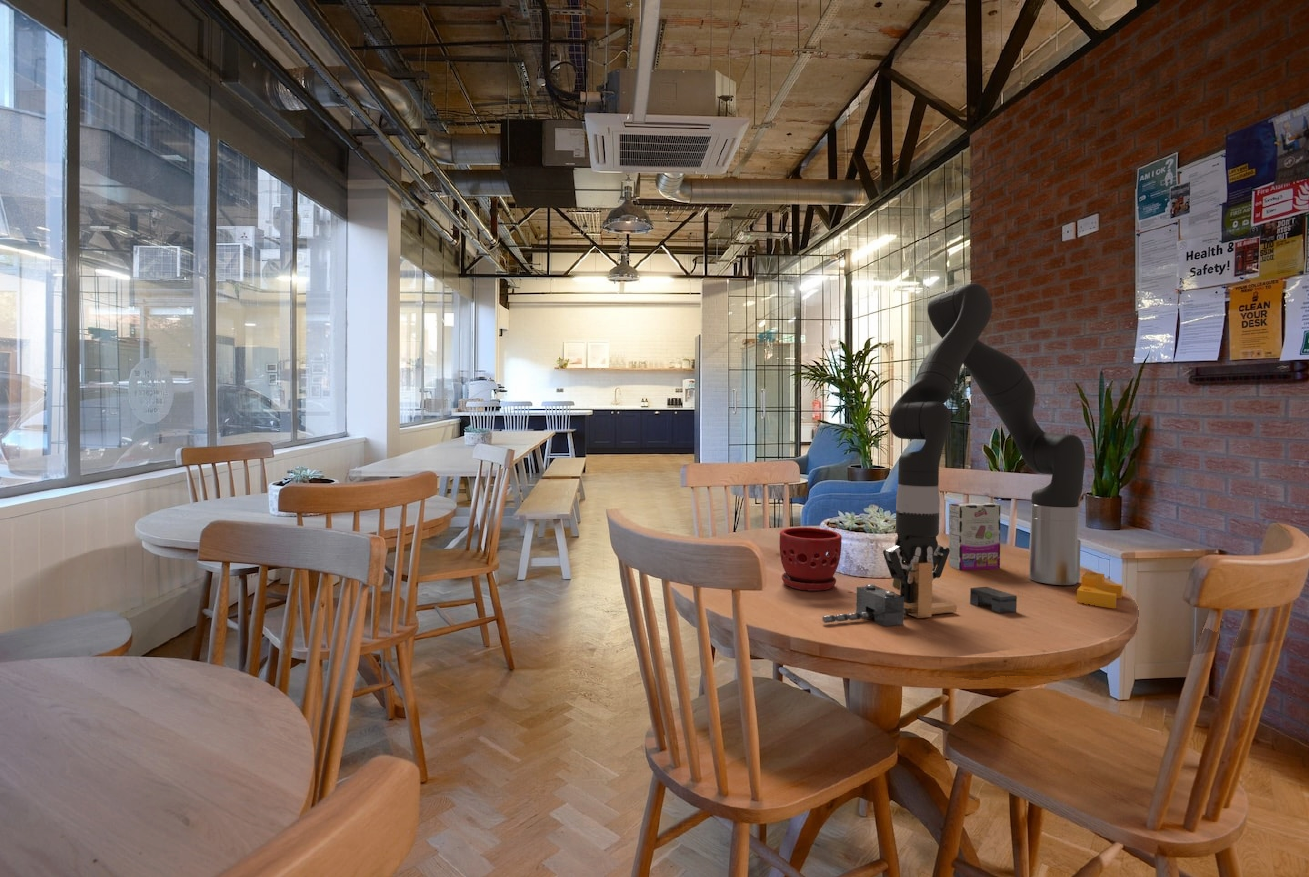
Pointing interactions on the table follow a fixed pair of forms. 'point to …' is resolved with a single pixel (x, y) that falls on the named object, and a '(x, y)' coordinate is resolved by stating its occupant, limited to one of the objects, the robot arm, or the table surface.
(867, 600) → the block
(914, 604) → the tie-down chain
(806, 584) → the plant pot
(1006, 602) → the hook
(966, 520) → the candy bar box
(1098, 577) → the yellow stand
